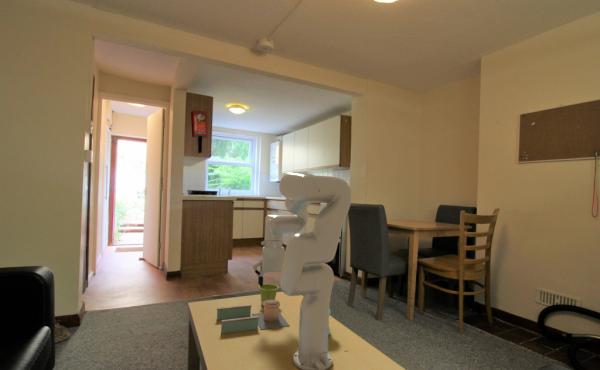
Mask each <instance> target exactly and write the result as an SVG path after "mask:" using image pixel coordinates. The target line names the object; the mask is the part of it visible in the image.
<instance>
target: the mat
mask: <svg viewBox="0 0 600 370" xmlns="http://www.w3.org/2000/svg"><path fill="white" fill-rule="evenodd" d="M254 316H258V317H259V319H258V328H259V329H260V330H261V331H262V330H263V331H264V330H271V329H278V328H279V329H280V328H284V327H285V328H286V327H290V324H289V323H288V321H287V320H286V319H285V317H283V316H282V314H281V313H280V312H279V320H278V321H277V322H272V323H270V322H265V321H264V320H263V318H264V312H258V313H257V312H255V313H251V317H254Z"/></svg>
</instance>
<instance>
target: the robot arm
mask: <svg viewBox="0 0 600 370" xmlns="http://www.w3.org/2000/svg"><path fill="white" fill-rule="evenodd" d="M278 187H279V188H278V189H279V193H280V194H281V196H282V197H284V198H285V199H284V204H285V207H286V209H287V210H288V211H289V213H291V214H267V215H266V216H265V218H264V239H263V241H261V242H260V244H261V246H263V247H262V250H261V256H260V261H258V262H256V263H255V264H254V265H252V266H251V267H252V269H253V270H254V273H255V274H256V275H257V277H258V281H257V282H258V283H257V284H258V285H259V286H261V287H262V286H263V284H264V276H263V275H264V274H265V273H280V278H279V280H280V281H279V282H280V284H279V285H280V288H281V290H282V291H281V292H282V293H283V294H284V295H286V296H288V297H298V296H303V297H302V300H301V302H300V306H299V324H298V326H299V327H298V345H297V346H298V348H297V349H298V350H297V351H295V352H294V354H293V356H292V361H293V364H294V365H295V366H296V367H297V368H298V369H301V370H328V369H329V368H331V366H332V364H333V358H332V356H331V354H330V353H329V352H328V351H329V335H328V330H329V328H330V316H329V308H330V303H331V294H332V290H333V287H334V281H335V275H334V271H333V269H332V267H331V266H330V265H328V263H329V262H331V261H333V260H334V258H335V256H336V253H337V249H338V245H339V240H340V237H341V235H342V233H341V232H342V229H343V226H344V225H343V224H344V222H345V219H346V217H347V215H348V213H349V211H350V208H351V204H352V190H351V188H350V185H349V184H348V182H347V181H346V180H344V179H343V178H340V177H336V176H329V175H315V174H312V173H304V172H293V171H292V172H291V171H290V172H286V173H285V174H284V175H283V176H282V177H281V179H280V180H279V186H278ZM311 203H312V204H313V203H314V204H315V203H316V204H326V206H324V207H323V208H322V209H321V210H320V212H319V213H318V214H317V216H316V217H315V221H314V224H313V228H312V231H310V232H301V231H302V230H303V229H304V228H305V227H306V225H307V224H308V220H309V211H308V208H309V206H310V205H311ZM283 234H292V235H291V237H289V240H288V241H287V244H286V246H285V247H284V246H283ZM258 268H260V270H259V269H258Z"/></svg>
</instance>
